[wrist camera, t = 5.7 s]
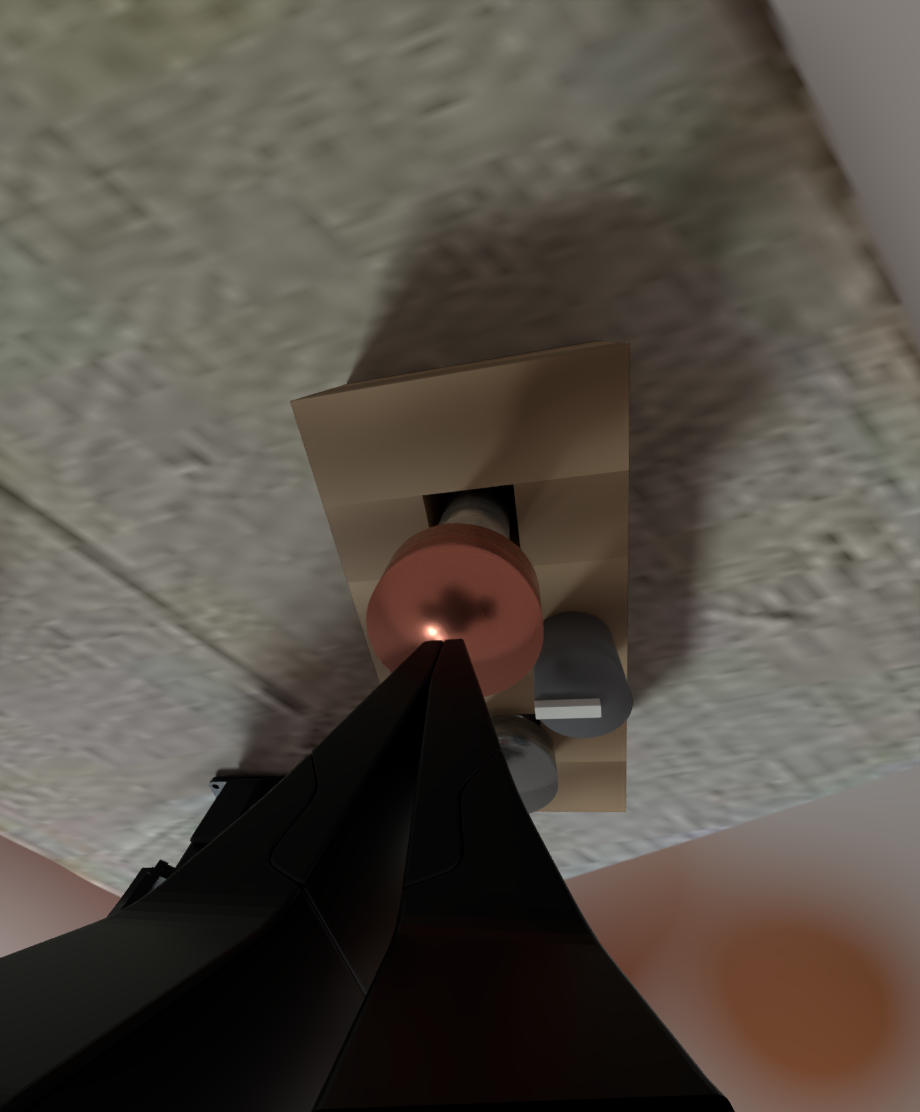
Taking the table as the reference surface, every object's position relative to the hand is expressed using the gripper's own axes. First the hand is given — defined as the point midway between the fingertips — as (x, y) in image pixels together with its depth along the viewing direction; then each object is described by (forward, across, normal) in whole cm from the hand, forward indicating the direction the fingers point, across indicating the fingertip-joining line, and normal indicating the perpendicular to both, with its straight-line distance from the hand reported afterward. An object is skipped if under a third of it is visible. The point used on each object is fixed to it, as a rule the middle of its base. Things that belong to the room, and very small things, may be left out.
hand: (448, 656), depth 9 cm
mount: (+11, 0, +5) cm, 12 cm away
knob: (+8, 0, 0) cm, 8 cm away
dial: (+6, -3, +5) cm, 9 cm away
